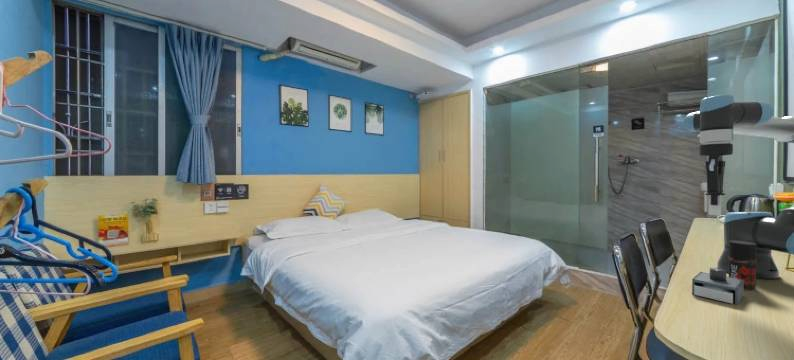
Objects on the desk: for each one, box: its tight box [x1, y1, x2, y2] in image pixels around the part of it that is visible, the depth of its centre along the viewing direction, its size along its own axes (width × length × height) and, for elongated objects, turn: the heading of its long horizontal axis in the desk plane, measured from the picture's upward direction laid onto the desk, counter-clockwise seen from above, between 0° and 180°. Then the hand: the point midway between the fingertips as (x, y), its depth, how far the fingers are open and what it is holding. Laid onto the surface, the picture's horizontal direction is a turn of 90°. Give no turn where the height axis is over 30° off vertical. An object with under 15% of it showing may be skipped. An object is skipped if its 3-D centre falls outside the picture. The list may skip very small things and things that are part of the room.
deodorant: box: [728, 240, 757, 292], centre depth 99 cm, size 6×6×15 cm
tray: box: [693, 285, 734, 305], centre depth 93 cm, size 11×8×3 cm
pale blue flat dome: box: [703, 284, 731, 293], centre depth 93 cm, size 6×6×2 cm
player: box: [691, 267, 745, 305], centre depth 94 cm, size 11×10×8 cm
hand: (714, 214), depth 99 cm, fingers closed
